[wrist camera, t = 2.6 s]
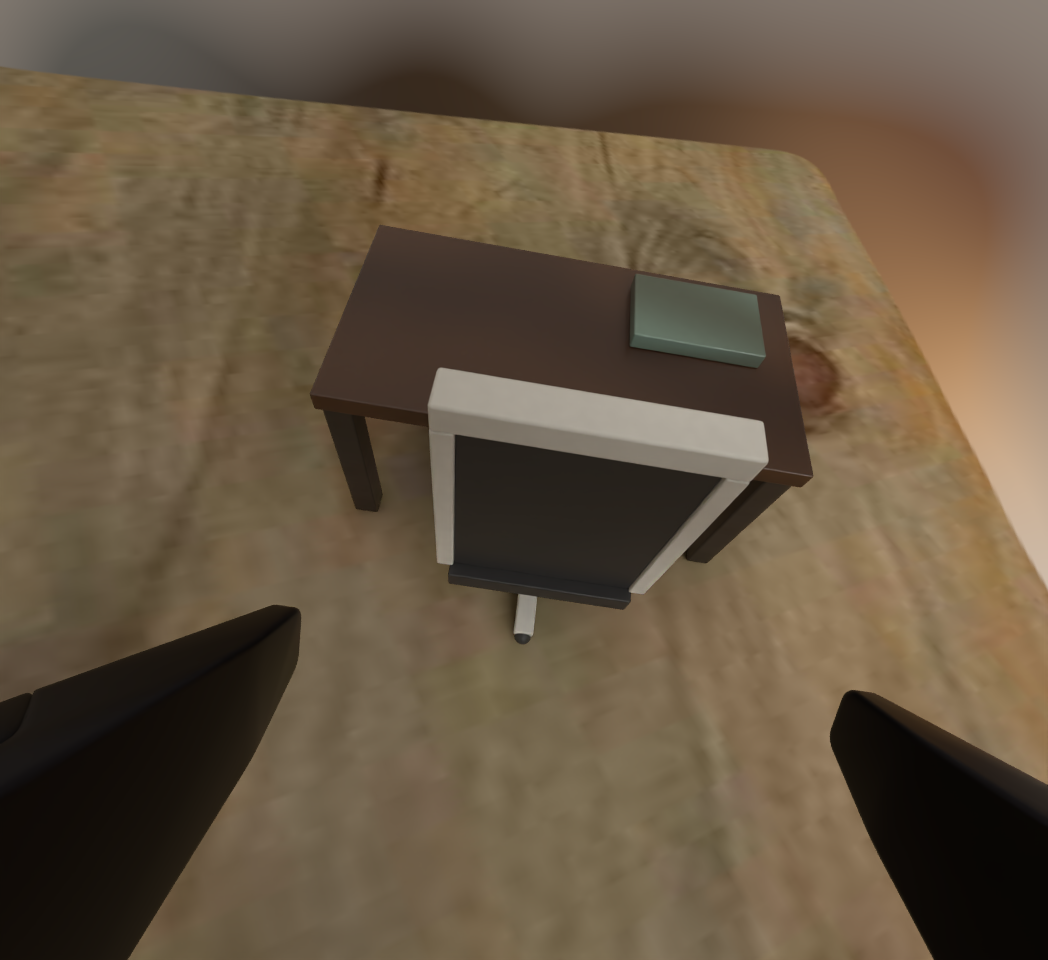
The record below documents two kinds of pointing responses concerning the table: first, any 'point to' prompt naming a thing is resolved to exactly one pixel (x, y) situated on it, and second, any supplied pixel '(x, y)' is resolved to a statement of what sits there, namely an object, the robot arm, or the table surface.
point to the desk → (557, 350)
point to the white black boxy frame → (575, 487)
